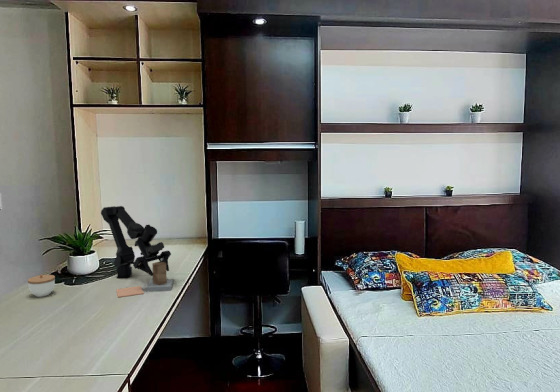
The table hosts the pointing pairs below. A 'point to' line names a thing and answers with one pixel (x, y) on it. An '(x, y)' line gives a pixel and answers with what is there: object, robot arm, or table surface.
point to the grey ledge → (159, 286)
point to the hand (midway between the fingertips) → (160, 273)
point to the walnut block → (159, 273)
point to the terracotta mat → (129, 291)
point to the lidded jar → (41, 285)
